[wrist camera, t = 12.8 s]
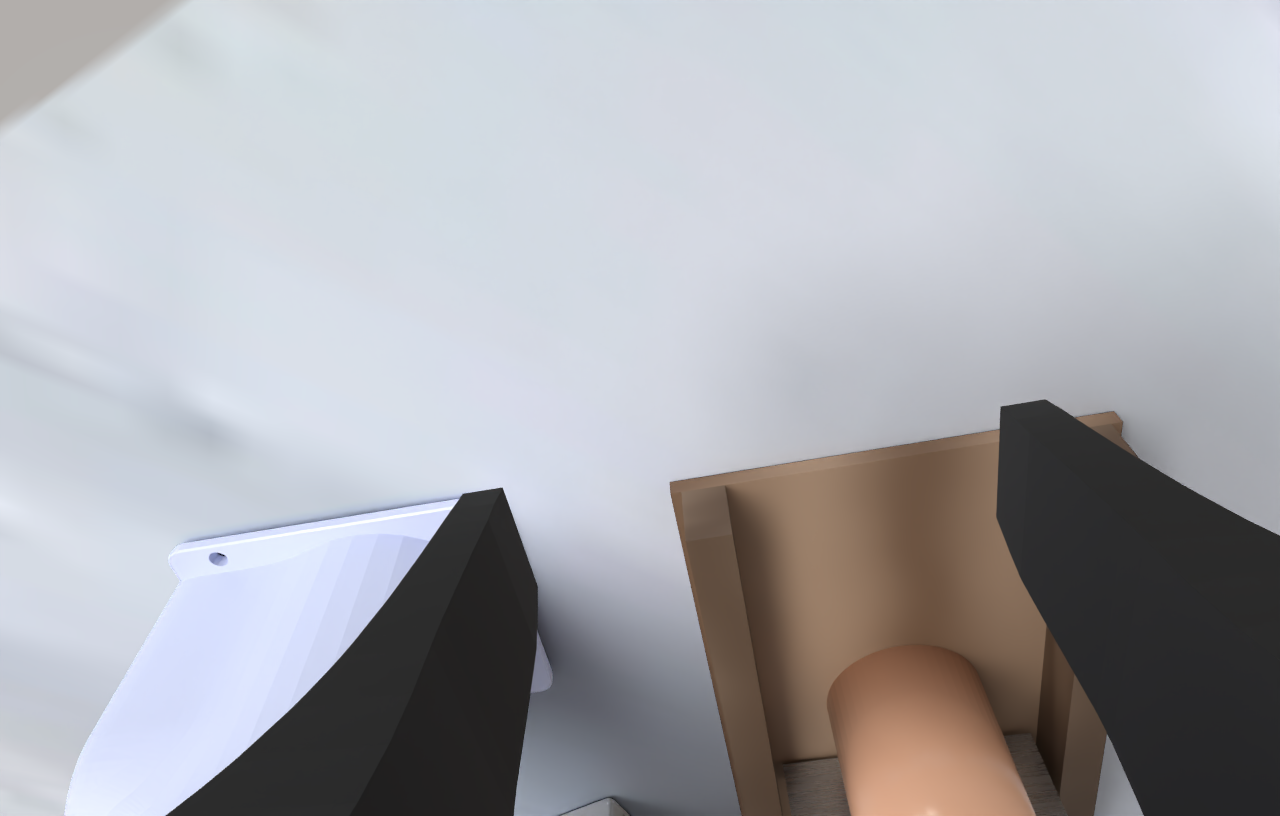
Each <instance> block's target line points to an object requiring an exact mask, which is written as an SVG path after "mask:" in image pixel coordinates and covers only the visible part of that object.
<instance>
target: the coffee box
mask: <svg viewBox="0 0 1280 816" xmlns="http://www.w3.org/2000/svg"><path fill="white" fill-rule="evenodd" d="M560 816H630V815H629V814H628V813H627V812H626V811H625V810H624V809H623V808H622V807H621V806H620V805H619V804H618V803H617V802H616V801H614V800H613V799H612V798H606V799H603V800H600V801H597V802H595V803H592V804H589V805H587V806H584V807H581V808H579V809H576V810H574V811H571V812H568V813H566V814H563V815H560Z"/></svg>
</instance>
